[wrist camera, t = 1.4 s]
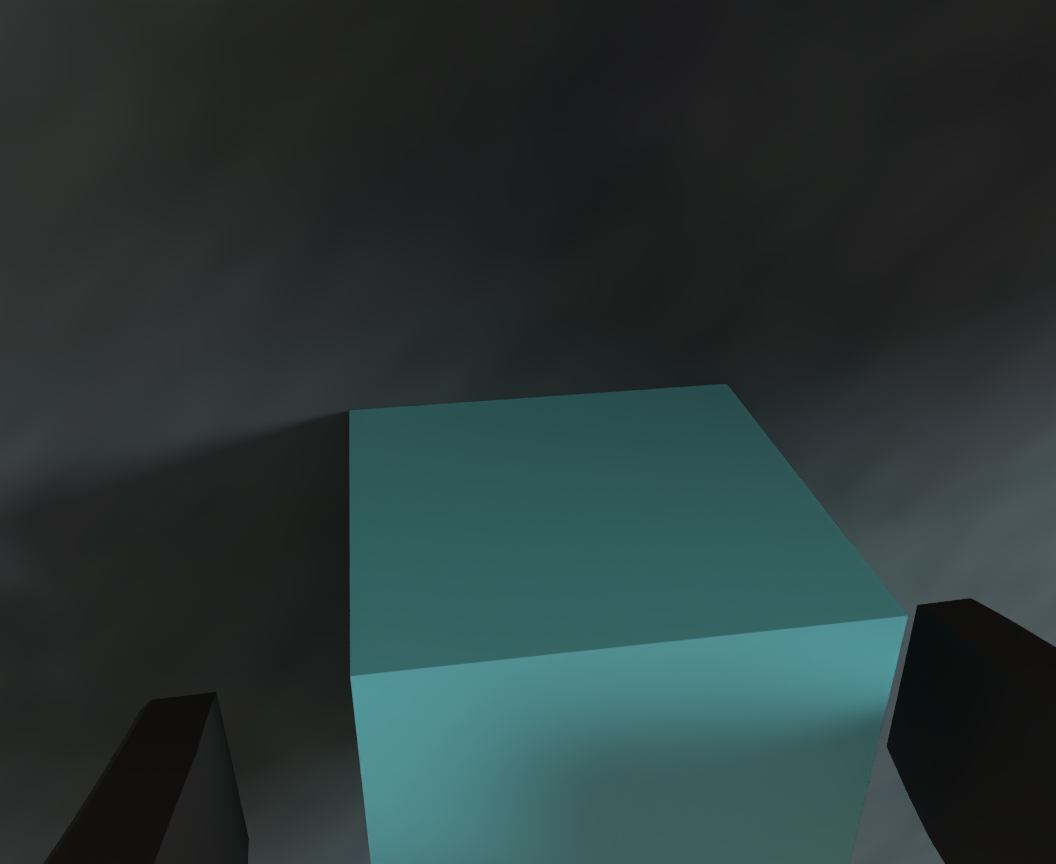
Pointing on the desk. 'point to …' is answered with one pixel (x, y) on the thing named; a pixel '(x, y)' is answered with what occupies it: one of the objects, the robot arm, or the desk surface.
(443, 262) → the desk surface
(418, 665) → the teal block
